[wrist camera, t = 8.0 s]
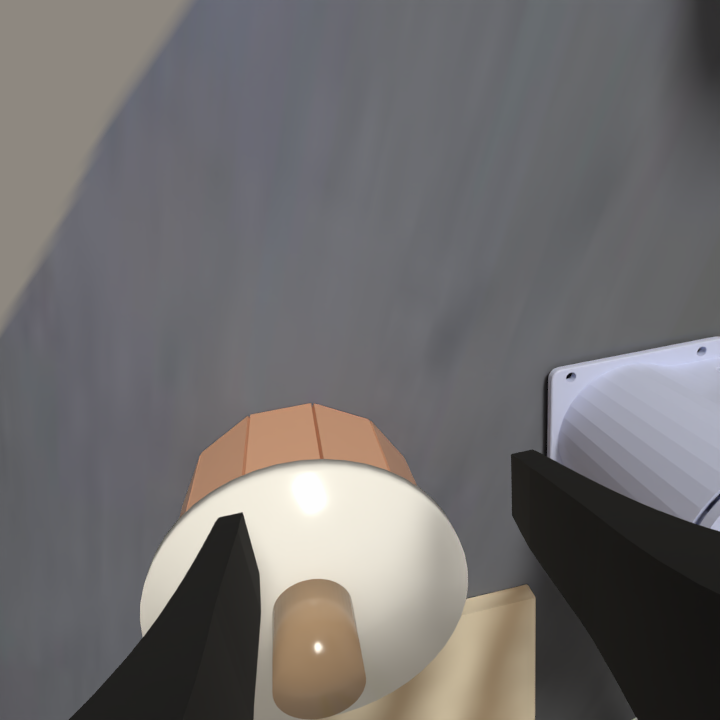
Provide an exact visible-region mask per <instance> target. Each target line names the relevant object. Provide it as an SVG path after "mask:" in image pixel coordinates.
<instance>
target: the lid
mask: <svg viewBox="0 0 720 720" xmlns="http://www.w3.org/2000/svg"><path fill="white" fill-rule="evenodd" d="M241 512H243V515H244V519H245V522H246V526H247V529H248V533H249V537H250V540H251V544H252V548H253V551H254V555H255V559H256V562H257V566H258V570H259V573H260V594H261V622H260V635H259V649H258V661H257V674H256V687H255V700H254V720H314V719H322V718H326V717H330V716H334V715H339V714H342V713H345V712H348V711H352V710H355V709H358V708H360V707H363V706H365V705H367V704H370V703H372V702H374V701H377V700H379V699H381V698H382V697H384V696H386V695H388V694H390V693H392V692H394V691H395V690H397V689H398V688H400V687H401V686H403V685H404V684H406V683H407V682H409V681H410V680H411V679H412V678H414V677H415V676H416V675H417V674H419V673H420V672H421V671H422V670H423V669H424V668H425V667H426V666H427V665H428V664H429V663H430V662H431V661H432V660H433V659H434V658H435V657H436V656H437V655H438V654H439V652H440V651H441V650H442V649H443V647H444V646H445V645H446V643H447V642H448V640H449V639H450V637H451V635H452V634H453V632H454V631H455V628H456V626H457V624H458V622H459V620H460V618H461V615H462V612H463V608H464V605H465V602H466V596H467V589H468V569H467V564H466V558H465V554H464V551H463V549H462V546H461V543H460V541H459V538H458V536H457V534H456V532H455V530H454V528H453V526H452V525H451V523H450V521H449V520H448V518H447V516H446V515H445V513H444V512H443V510H442V509H441V508H440V507H439V506H438V504H437V503H436V502H435V501H434V500H433V499H432V498H431V497H430V496H429V495H428V494H426V493H425V492H424V491H423V490H422V489H421V488H419V487H418V486H416V485H415V484H413V483H411V482H410V481H408V480H407V479H405V478H403V477H401V476H399V475H397V474H394V473H392V472H390V471H388V470H385V469H382V468H379V467H375V466H372V465H369V464H365V463H359V462H353V461H347V460H333V459H313V460H298V461H293V462H287V463H281V464H276V465H272V466H269V467H265V468H262V469H259V470H255V471H252V472H250V473H247V474H245V475H243V476H240V477H238V478H236V479H233V480H231V481H229V482H227V483H226V484H224V485H222V486H220V487H219V488H217V489H215V490H213V491H211V492H210V493H209V494H207V495H206V496H205V497H203V498H202V499H201V500H199V501H198V502H196V503H195V504H194V505H193V506H192V507H191V508H190V509H188V510H187V511H186V512H185V513H184V514H183V515H182V516H181V517H180V518H179V519H178V520H177V521H176V523H175V524H174V525H173V526H172V528H171V529H170V530H169V531H168V533H167V534H166V535H165V537H164V539H163V540H162V542H161V544H160V545H159V547H158V549H157V551H156V552H155V555H154V558H153V560H152V563H151V565H150V568H149V571H148V574H147V577H146V581H145V584H144V588H143V593H142V598H141V603H140V623H141V629H142V635H143V637H144V635H145V634H146V633H147V631H148V630H149V629H150V627H151V626H152V625H153V623H154V622H155V620H156V619H157V618H158V616H159V615H160V613H161V612H162V610H163V609H164V607H165V606H166V604H167V603H168V601H169V600H170V598H171V597H172V595H173V594H174V592H175V591H176V590H177V588H178V586H179V585H180V583H181V582H182V580H183V578H184V577H185V575H186V573H187V572H188V570H189V568H190V567H191V565H192V563H193V562H194V560H195V558H196V556H197V555H198V553H199V551H200V549H201V547H202V546H203V544H204V542H205V540H206V538H207V536H208V535H209V533H210V531H211V529H212V527H213V525H214V523H215V522H216V520H217V519H218V518H219V517H223V516H227V515H232V514H237V513H241Z"/></svg>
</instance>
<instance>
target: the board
mask: <svg viewBox="0 0 720 720" xmlns="http://www.w3.org/2000/svg"><path fill="white" fill-rule="evenodd" d="M535 607H536V598H535V596H534V594H533V593H532V591H531V589H530V588H529V586H528V585H527V584H526V585H522V586H518V587H514V588H510V589H506V590H502V591H497V592H493V593H489V594H485V595H481V596H477V597H473V598H468V599H466V602H465V605H464V608H463V612H462V615H461V618H460V620H459V622H458V624H457V626H456V628H455V631H454V632H453V634H452V635H451V637H450V639H449V640H448V642H447V643H446V645H445V646H444V647H443V649H442V650H441V651H440V652H439V654H438V655H437V656H436V657H435V658H434V659H433V660H432V661H431V662H430V663H429V664H428V665H427V666H426V667H425V668H424V669H423V670H422V671H421V672H420V673H419V674H417V675H416V676H415V677H414V678H412V679H411V680H410V681H409V682H407V683H406V684H404V685H403V686H401V687H400V688H398V689H397V690H395V691H394V692H392V693H390V694H388V695H386V696H384V697H382V698H381V699H379V700H377V701H374V702H372V703H370V704H367V705H365V706H363V707H360V708H358V709H355V710H352V711H348V712H345V713H342V714H339V715H334V716H330V717H326V718H322V719H314V720H535Z"/></svg>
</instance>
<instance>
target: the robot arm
mask: <svg viewBox="0 0 720 720" xmlns="http://www.w3.org/2000/svg"><path fill="white" fill-rule="evenodd" d="M699 348H700V350H699V351H698V349H699ZM697 351H698V352H697ZM571 372H572V374H571V376H570V378H568V379H566V377H567V375H568V374H569V373H571ZM511 472H512V516H513V518H514V520H515V522H516V524H517V526H518V528H519V530H520V531H521V533H522V535H523V537H524V539H525V541H526V543H527V544H528V546H529V548H530V550H531V551H532V553H533V554H534V555H535V557H536V558H537V560H538V561H539V563H540V564H541V566H542V567H543V568H544V570H545V571H546V573H547V574H548V576H549V577H550V578H551V580H552V581H553V583H554V584H555V585H556V587H557V588H558V590H559V591H560V592H561V594H562V595H563V597H564V598H565V599H566V601H567V602H568V604H569V605H570V606H571V608H572V609H573V611H574V612H575V614H576V615H577V616H578V618H579V619H580V621H581V622H582V624H583V625H584V627H585V628H586V630H587V631H588V633H589V634H590V636H591V637H592V639H593V641H594V642H595V644H596V646H597V648H598V649H599V651H600V653H601V655H602V656H603V658H604V660H605V662H606V663H607V665H608V667H609V669H610V670H611V672H612V674H613V675H614V677H615V679H616V681H617V683H618V685H619V686H620V688H621V690H622V692H623V694H624V696H625V697H626V699H627V701H628V703H629V705H630V706H631V708H632V710H633V712H634V714H635V716H636V717H637V719H638V720H720V337H710V338H705V339H700V340H695V341H690V342H685V343H680V344H675V345H669V346H664V347H659V348H654V349H649V350H644V351H639V352H634V353H628V354H623V355H618V356H613V357H608V358H603V359H598V360H593V361H587V362H582V363H577V364H572V365H567V366H562V367H557V368H555V369H553V370H552V371H551V372H550V374H549V377H548V430H547V456H545V455H543V454H541V453H539V452H537V451H534V450H529V451H524V452H519V453H515V454H511ZM260 622H261V594H260V573H259V570H258V566H257V562H256V559H255V555H254V551H253V548H252V544H251V540H250V537H249V533H248V529H247V526H246V522H245V519H244V515H243V512H241V513H237V514H232V515H227V516H223V517H219V518H218V519H217V520H216V522H215V523H214V525H213V527H212V529H211V531H210V533H209V535H208V536H207V538H206V540H205V542H204V544H203V546H202V547H201V549H200V551H199V553H198V555H197V556H196V558H195V560H194V562H193V563H192V565H191V567H190V568H189V570H188V572H187V573H186V575H185V577H184V578H183V580H182V582H181V583H180V585H179V586H178V588H177V590H176V591H175V592H174V594H173V595H172V597H171V598H170V600H169V601H168V603H167V604H166V606H165V607H164V609H163V610H162V612H161V613H160V615H159V616H158V618H157V619H156V620H155V622H154V623H153V625H152V626H151V627H150V629H149V630H148V631H147V633H146V634H145V635H144V637H143V638H142V639H141V640H140V642H139V643H138V644H137V645H136V647H135V648H134V649H133V651H132V652H131V653H130V654H129V655H128V657H127V658H126V659H125V660H124V661H123V663H122V664H121V665H120V666H119V667H118V668H117V669H116V670H115V671H114V673H113V674H112V675H111V676H110V677H109V678H108V679H107V680H106V681H105V683H104V684H103V685H102V686H101V687H100V688H99V689H98V690H97V691H96V693H95V694H94V695H93V696H92V697H91V698H90V699H89V700H88V701H87V702H86V703H85V704H84V705H83V706H82V707H81V708H80V709H79V710H78V711H77V712H76V713H75V714H74V715H73V716H72V717H71V718H70V719H69V720H254V700H255V687H256V674H257V661H258V649H259V635H260Z"/></svg>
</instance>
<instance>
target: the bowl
mask: <svg viewBox="0 0 720 720" xmlns="http://www.w3.org/2000/svg"><path fill="white" fill-rule="evenodd" d="M313 459H333V460H347V461H353V462H359V463H365V464H369V465H372V466H375V467H379V468H382V469H385V470H388V471H390V472H392V473H394V474H397V475H399V476H401V477H403V478H405V479H407V480H408V481H410V482H411V483H413V484H415V485H416V483H415V480H414V478H413V476H412V474H411V472H410V469H409V467H408V465H407V463H406V461H405V458H404V457H403V456H402V455H401V454H400V452H399V451H398V450H397V449H396V448H395V447H394V446H393V445H392V444H391V442H390V441H389V440H388V439H387V438H386V437H385V436H384V435H383V434H382V432H381V431H380V430H379V429H378V428H377V427H376V426H375V425H374V424H373V423H372V421H370V422H369V419H366V418H362V417H359V416H355V415H352V414H349V413H345V412H342V411H339V410H335V409H332V408H328V407H325V406H322V405H318V404H315V403H314V404H313V407H312V406H311V403H309V404H304V405H298V406H293V407H288V408H283V409H278V410H272V411H267V412H262V413H257V414H252V415H250V418H249V417H248V416H247V417H246V418H245V419H243V420H242V421H241V422H239V423H238V424H237V425H236V426H234V427H233V428H232V429H231V430H229V431H228V432H227V433H226V434H224V435H223V436H222V437H221V438H219V439H218V440H217V441H216V442H214V443H213V444H212V445H211V446H209V447H208V448H207V449H206V450H204V451H203V452H202V454H201V455H200V457H199V459H198V462H197V465H196V468H195V471H194V474H193V477H192V480H191V483H190V485H189V488H188V491H187V494H186V497H185V500H184V503H183V506H182V510H181V514H180V517H181V516H182V515H183V514H184V513H185V512H186V511H187V510H188V509H190V508H191V507H192V506H193V505H194V504H195V503H196V502H198V501H199V500H201V499H202V498H203V497H205V496H206V495H207V494H209V493H210V492H211V491H213V490H215V489H217V488H219V487H220V486H222V485H224V484H226V483H227V482H229V481H231V480H233V479H236V478H238V477H240V476H243V475H245V474H247V473H250V472H252V471H255V470H259V469H262V468H265V467H269V466H272V465H276V464H281V463H287V462H293V461H298V460H313ZM416 486H417V485H416Z"/></svg>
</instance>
